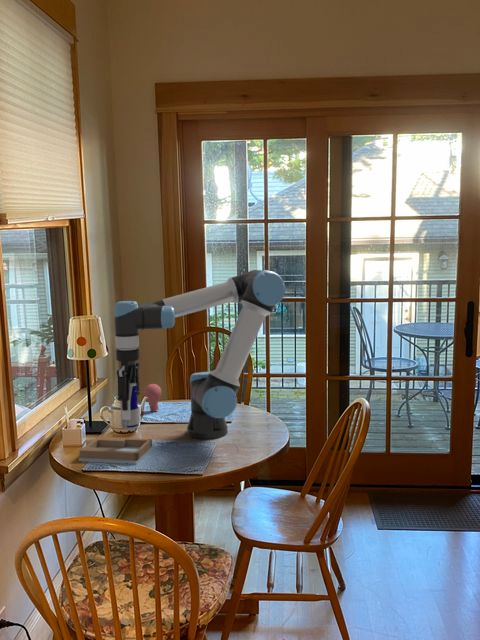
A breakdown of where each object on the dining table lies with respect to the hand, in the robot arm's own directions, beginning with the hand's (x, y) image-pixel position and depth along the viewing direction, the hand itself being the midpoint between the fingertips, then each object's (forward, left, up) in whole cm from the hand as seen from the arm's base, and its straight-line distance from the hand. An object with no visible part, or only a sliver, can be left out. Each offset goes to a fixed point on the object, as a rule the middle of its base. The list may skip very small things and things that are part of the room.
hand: (129, 416), depth 191 cm
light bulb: (+10, -51, -14) cm, 54 cm away
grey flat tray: (+5, 0, -13) cm, 14 cm away
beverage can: (0, 0, -4) cm, 4 cm away
